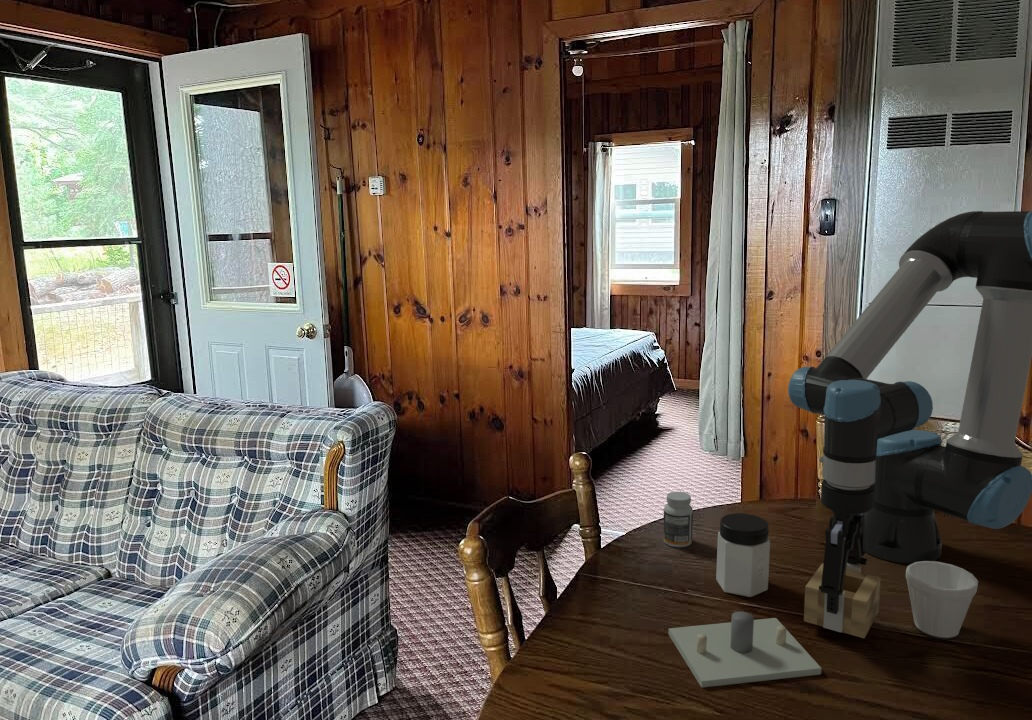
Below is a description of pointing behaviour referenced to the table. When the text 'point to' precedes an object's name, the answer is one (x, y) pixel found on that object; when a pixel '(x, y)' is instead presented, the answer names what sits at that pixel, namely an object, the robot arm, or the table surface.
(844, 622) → the open wooden square frame
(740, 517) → the jar
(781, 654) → the post fixture
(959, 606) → the cup
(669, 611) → the table surface
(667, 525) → the pill bottle
